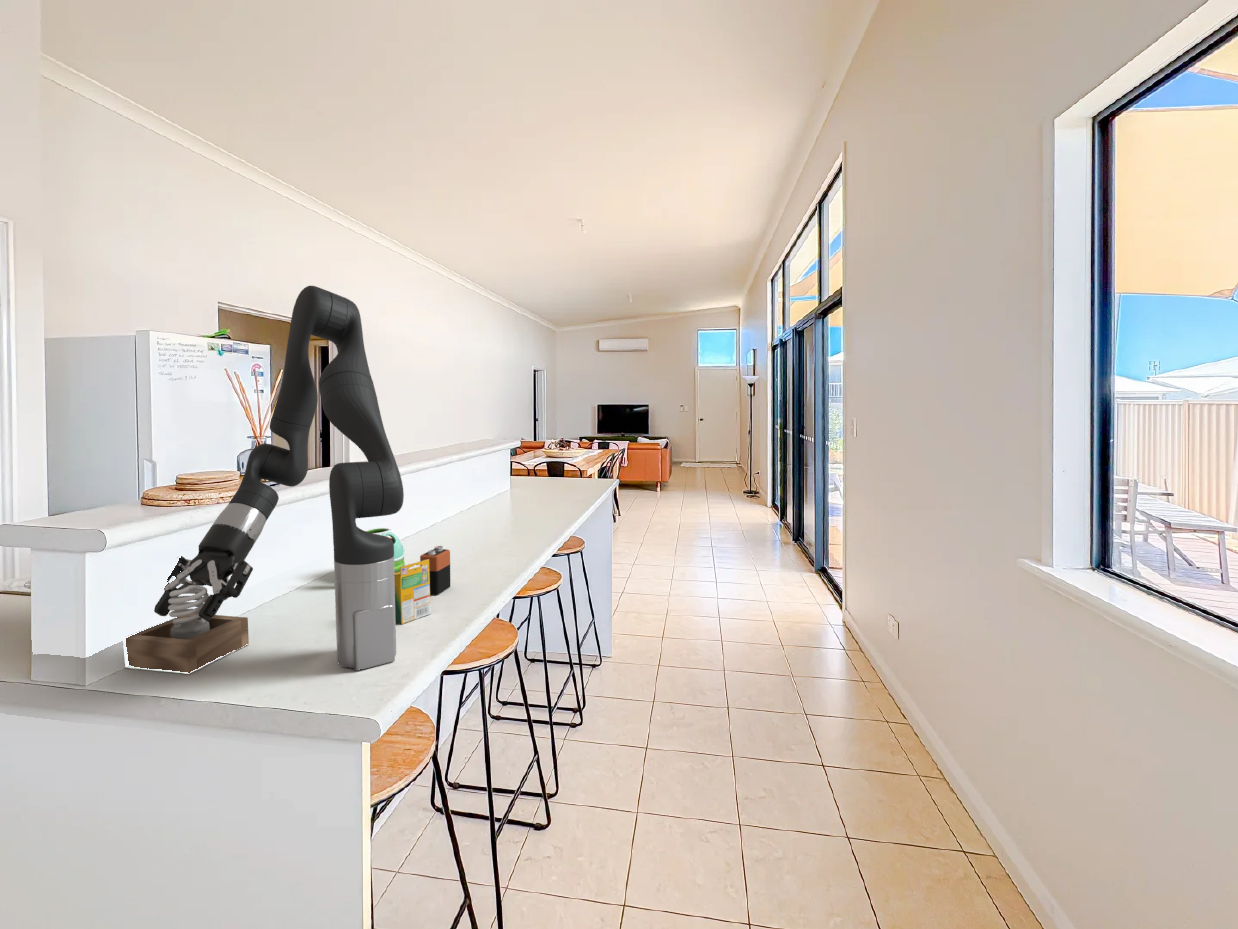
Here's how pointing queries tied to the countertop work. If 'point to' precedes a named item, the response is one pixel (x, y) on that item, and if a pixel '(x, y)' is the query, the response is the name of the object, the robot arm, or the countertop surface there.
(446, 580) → the battery
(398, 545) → the turtle holder
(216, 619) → the square brown bulb holder
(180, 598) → the light bulb
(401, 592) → the crayon box
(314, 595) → the countertop surface
